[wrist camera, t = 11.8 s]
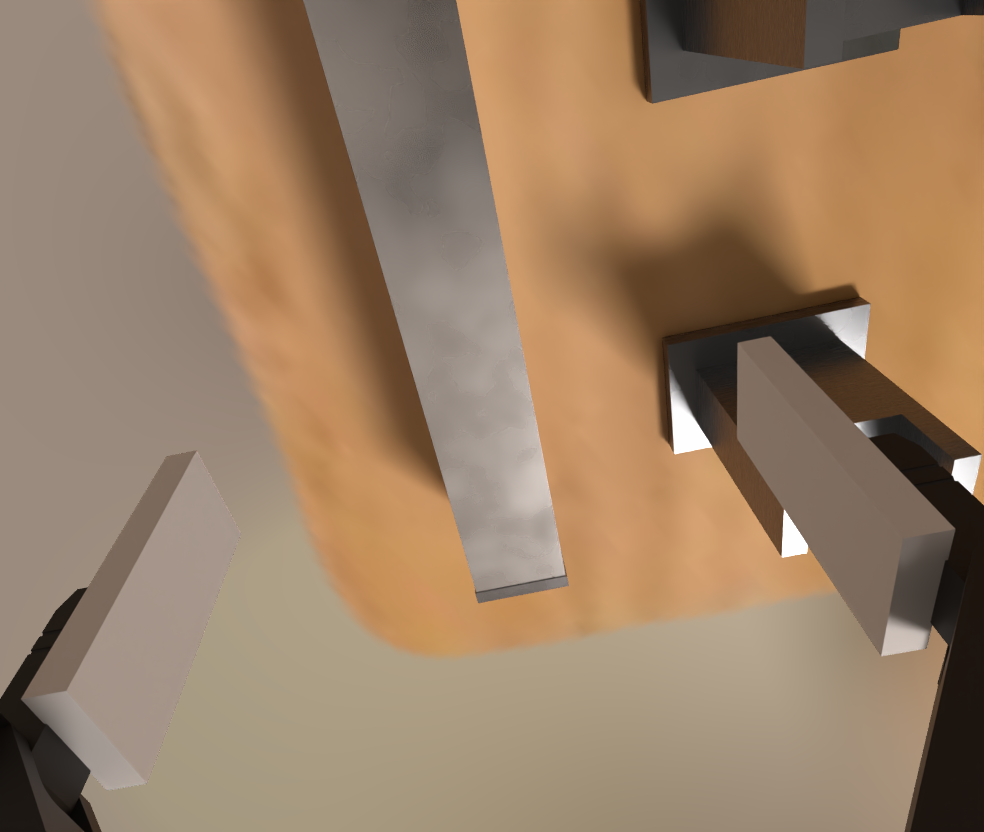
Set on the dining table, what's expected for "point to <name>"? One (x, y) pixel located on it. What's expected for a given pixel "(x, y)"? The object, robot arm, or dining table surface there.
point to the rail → (445, 272)
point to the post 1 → (770, 37)
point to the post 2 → (829, 363)
